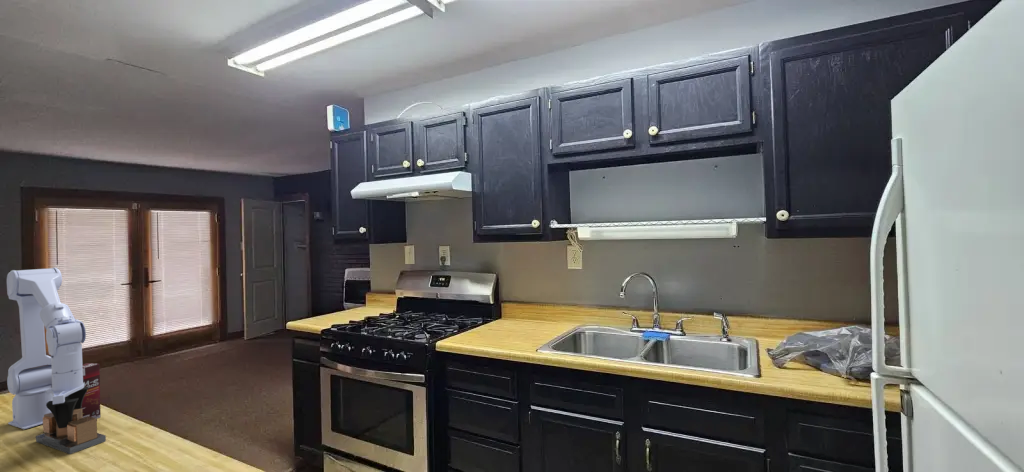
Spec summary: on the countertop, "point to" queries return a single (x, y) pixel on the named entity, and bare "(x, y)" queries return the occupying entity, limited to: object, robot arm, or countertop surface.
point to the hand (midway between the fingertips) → (69, 422)
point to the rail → (71, 434)
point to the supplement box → (91, 390)
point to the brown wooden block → (63, 431)
